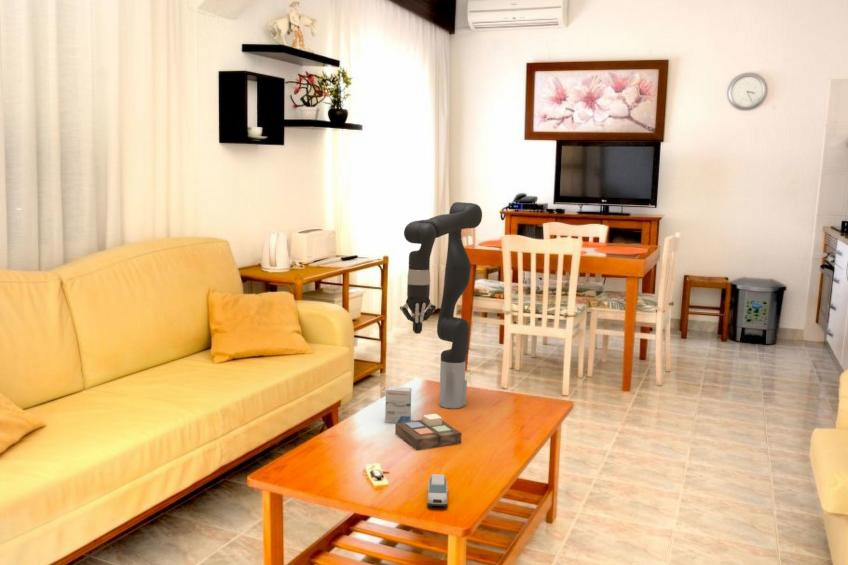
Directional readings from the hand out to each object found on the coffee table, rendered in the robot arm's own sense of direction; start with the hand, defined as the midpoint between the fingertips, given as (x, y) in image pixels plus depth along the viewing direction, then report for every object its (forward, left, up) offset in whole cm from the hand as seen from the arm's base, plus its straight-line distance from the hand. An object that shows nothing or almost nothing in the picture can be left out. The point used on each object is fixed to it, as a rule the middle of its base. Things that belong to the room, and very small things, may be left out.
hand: (417, 333), depth 254 cm
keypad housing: (+2, +14, -32) cm, 35 cm away
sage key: (-1, +17, -31) cm, 35 cm away
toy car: (+20, +56, -32) cm, 68 cm away
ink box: (+4, -5, -32) cm, 33 cm away
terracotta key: (+5, +17, -30) cm, 35 cm away
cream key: (-1, +11, -28) cm, 30 cm away
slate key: (+5, +11, -31) cm, 33 cm away
